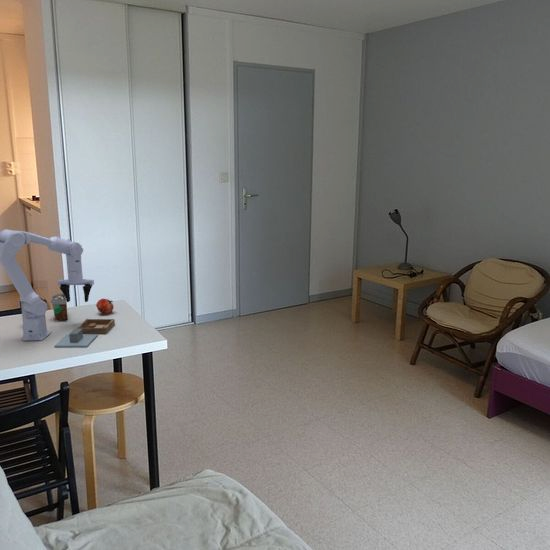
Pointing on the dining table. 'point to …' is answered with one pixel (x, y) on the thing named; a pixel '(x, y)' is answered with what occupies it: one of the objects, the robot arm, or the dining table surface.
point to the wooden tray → (96, 326)
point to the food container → (59, 307)
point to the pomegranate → (104, 306)
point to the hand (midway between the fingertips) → (77, 301)
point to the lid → (76, 339)
